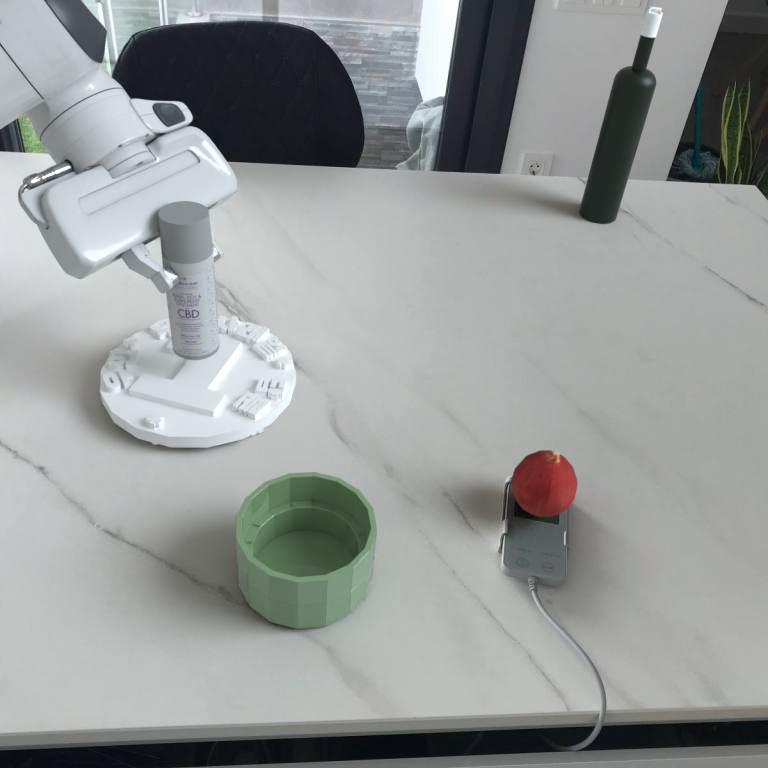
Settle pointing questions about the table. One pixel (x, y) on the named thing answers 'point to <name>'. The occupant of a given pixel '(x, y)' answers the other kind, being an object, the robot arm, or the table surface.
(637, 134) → the wine bottle
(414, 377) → the table surface
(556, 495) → the onion
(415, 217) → the table surface
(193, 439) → the giant coin
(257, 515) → the green faceted pot
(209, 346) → the container
